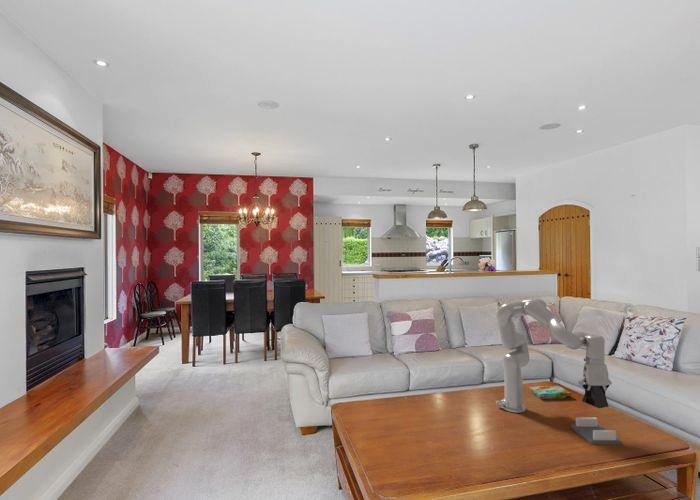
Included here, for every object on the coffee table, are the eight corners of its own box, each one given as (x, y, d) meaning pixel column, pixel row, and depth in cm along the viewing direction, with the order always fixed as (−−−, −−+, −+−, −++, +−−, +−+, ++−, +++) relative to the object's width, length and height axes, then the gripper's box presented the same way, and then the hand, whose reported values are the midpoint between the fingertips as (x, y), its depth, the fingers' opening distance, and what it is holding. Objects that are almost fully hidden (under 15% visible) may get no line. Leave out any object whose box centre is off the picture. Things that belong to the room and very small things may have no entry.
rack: (591, 444, 173) (591, 432, 173) (570, 427, 189) (570, 416, 189) (621, 444, 173) (621, 432, 173) (598, 427, 189) (598, 416, 189)
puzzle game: (529, 385, 235) (559, 384, 236) (529, 393, 235) (559, 391, 237) (540, 392, 223) (571, 391, 225) (540, 400, 223) (571, 399, 225)
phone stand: (582, 401, 184) (582, 377, 184) (590, 399, 186) (590, 375, 186) (599, 408, 176) (599, 383, 175) (608, 406, 177) (608, 381, 177)
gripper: (582, 363, 177) (582, 401, 177) (618, 363, 177) (618, 401, 177) (572, 358, 184) (572, 395, 185) (607, 358, 184) (607, 394, 184)
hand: (595, 397), depth 181 cm, fingers closed on phone stand, 6 cm apart
